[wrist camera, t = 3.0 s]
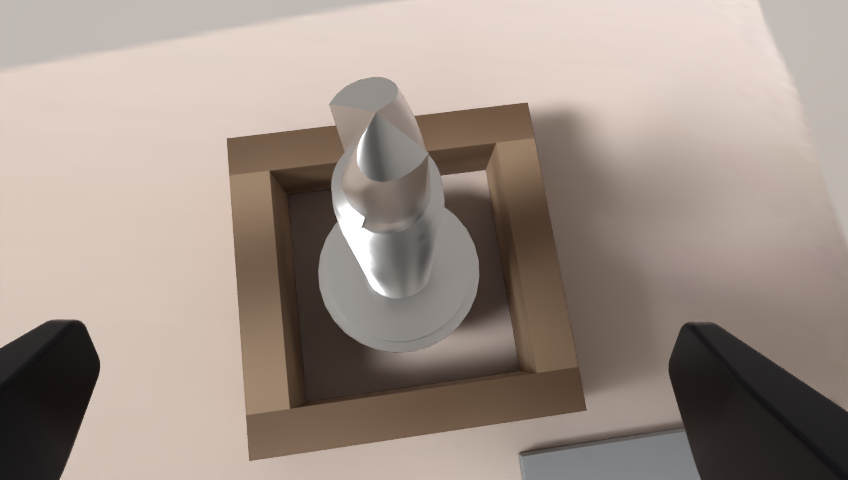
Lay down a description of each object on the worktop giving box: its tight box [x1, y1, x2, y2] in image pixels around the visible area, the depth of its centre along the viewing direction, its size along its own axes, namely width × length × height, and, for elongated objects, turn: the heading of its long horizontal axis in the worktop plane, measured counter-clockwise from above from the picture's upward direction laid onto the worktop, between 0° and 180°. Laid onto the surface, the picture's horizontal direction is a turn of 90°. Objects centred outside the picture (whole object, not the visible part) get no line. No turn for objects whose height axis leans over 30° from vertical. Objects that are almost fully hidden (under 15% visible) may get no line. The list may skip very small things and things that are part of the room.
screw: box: [318, 77, 479, 353], centre depth 12 cm, size 13×5×5 cm
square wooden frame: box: [227, 103, 587, 461], centre depth 17 cm, size 9×9×2 cm
